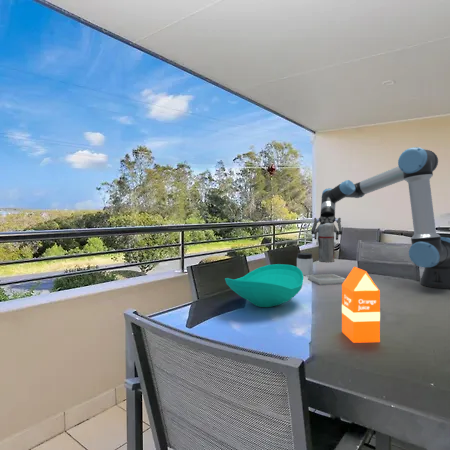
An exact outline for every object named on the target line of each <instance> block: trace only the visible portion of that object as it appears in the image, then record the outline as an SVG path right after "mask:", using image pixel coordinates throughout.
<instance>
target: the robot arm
mask: <svg viewBox="0 0 450 450" xmlns="http://www.w3.org/2000/svg"><path fill="white" fill-rule="evenodd" d="M397 164H398V166H395V167H393V168H391V169H388V170H386V171H384V172H381V173H379V174H376V175H373V176H371V177H369V178H366V179H364V180H362V181H359V182H356V183H354V181H351V180H349V179H346V180H344V181H342V182H340V184H338V185H336V186H335V187H333V188H332V187H331V188H329V187H328V188H325V189H324V190H323V191H322V195H321V205H320V214H319V215H320V217H319V218H317V217H314V218H313V221H314V222H313V225H312V227H311V229H310V231H311V235H314V237H313V238H314V240H315V243H316V244H315V246H319V244H318V231H319V225H323V224H325V223H334V247H336V245H337V244H336V243H337V241H338V240H339V236H340V235H341V236H342V235H343V229H342V224H341V222H342V221H341V220H342V218H341V217H338V218H336V203H338V202H340V201H341V200H343V199H344V198H353V199H359V198H362V197H364V196H365V195H367V194H369V193H372V192H375V191H378V190H380V189H383V188H386V187H389V186H392V185H394V184H398V183H400V182H403V181H406V183H407V184H408V185H407V186H408V193H409V202H410V207H411V209H410V210H411V219H412V227H413V235H412V237H410V241H411V246H410V247H409V249H408V250H409V251H408V257H409V259H410V261H411V262H412V263H413V264H414V265H416V266H417V267H420V268H424V270H423V272H422V275H421V277H420V281H419V282H420V285H421V286H425V287H429V288H435V289H450V237H445V236H441V235H440V234H439V233H437V230H436V222H435V213H434V206H433V197H432V189H431V183H430V182H431V179H432V177H433V175H434V171H435V170H436V168H437V167H438V165H439V159H438V156H437V153H435V152H434V151H432V150H430V149H426V148H422V147H418V146H415V147H409V148H407V149H405V150H404V151H402V153H401V154H400V155H399V158H398V160H397ZM319 222H320V223H319ZM335 222H336V223H337V227H338V228H337V227H336V225H335ZM318 223H319V225H318ZM317 225H318V226H317Z"/></svg>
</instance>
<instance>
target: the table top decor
mask: <svg viewBox="0 0 450 450" xmlns="http://www.w3.org/2000/svg"><path fill="white" fill-rule="evenodd" d="M304 277H305V276H303V273H302V271H301V270H300V269H299V268H298V267H297V265H296V266H295V265H292V264H283V263H282V264H281V263H277V264H276V263H275V264H267V265H262V266H259V267H257V268H255V269H253V270H251V271H250V272H248V273H247V274H245V275H244V276H241V277H239V278H235V279H233V278H229V277H226V278H224V280H225V284H226V285H227V286H228V288H230V290H231V291H233V292H234V293H235V294H237V295H238V296H239V297H241V298H243V299H244V300H246V301H248V302H249V303H251V304H253V305H254V306H256V307H260V308H271V307H276V306H279V305H282V304H284V303H288V302H290V301H291V300H292V299H293V298H294V297H295V296H297V294H299V292H300V291H301V289H302V288H303V285H304Z"/></svg>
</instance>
